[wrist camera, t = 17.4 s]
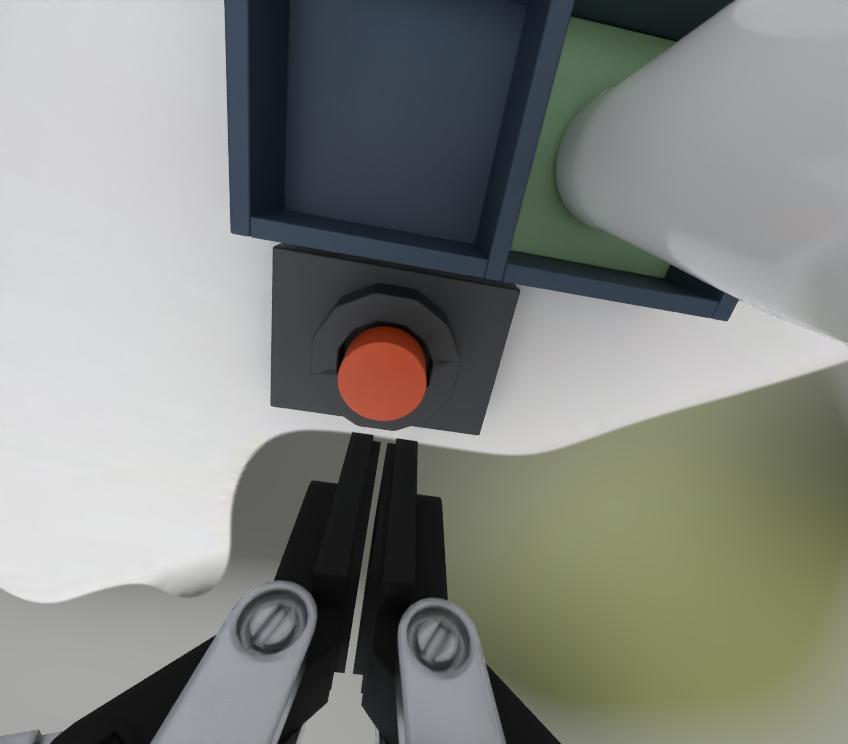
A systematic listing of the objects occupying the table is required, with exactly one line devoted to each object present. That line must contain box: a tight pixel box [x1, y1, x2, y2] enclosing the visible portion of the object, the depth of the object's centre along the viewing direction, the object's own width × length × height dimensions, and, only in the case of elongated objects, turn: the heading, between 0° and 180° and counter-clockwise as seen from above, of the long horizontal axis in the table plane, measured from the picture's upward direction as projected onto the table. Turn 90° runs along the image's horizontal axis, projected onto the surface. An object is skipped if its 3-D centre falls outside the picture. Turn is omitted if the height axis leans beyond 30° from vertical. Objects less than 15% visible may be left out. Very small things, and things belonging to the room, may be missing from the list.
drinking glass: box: [556, 0, 848, 345], centre depth 10 cm, size 7×7×15 cm
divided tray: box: [224, 0, 739, 321], centre depth 15 cm, size 19×10×5 cm, turn 80°
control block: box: [271, 243, 520, 435], centre depth 19 cm, size 11×8×4 cm
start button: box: [338, 326, 427, 421], centre depth 17 cm, size 4×4×2 cm
